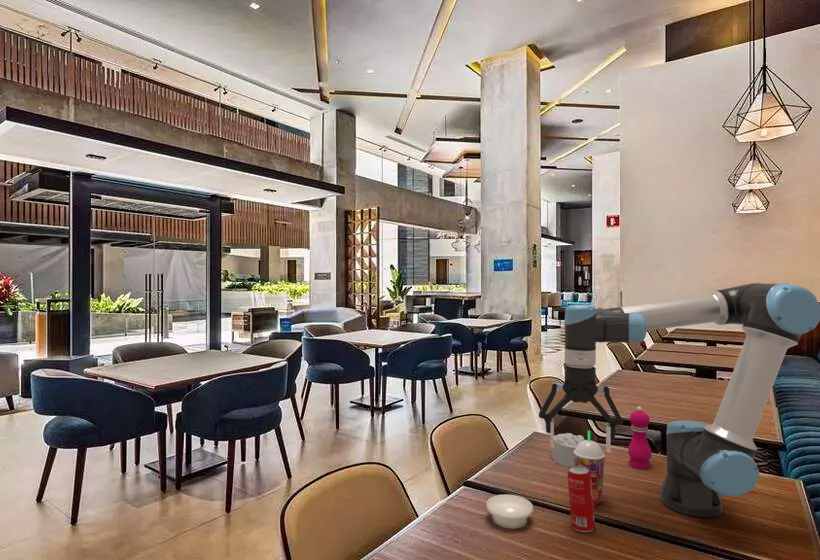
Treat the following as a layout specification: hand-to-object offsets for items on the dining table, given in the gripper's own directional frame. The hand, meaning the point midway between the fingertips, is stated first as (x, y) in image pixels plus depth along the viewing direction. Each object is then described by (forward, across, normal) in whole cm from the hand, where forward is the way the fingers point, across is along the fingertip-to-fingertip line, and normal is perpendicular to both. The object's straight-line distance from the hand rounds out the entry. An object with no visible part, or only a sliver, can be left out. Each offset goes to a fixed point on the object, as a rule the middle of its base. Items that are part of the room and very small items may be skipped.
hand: (579, 448), depth 123 cm
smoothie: (+20, +3, +16) cm, 26 cm away
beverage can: (+21, 0, 0) cm, 21 cm away
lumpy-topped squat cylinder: (+21, -1, +45) cm, 50 cm away
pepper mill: (+20, +21, +47) cm, 56 cm away
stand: (+21, -18, -1) cm, 27 cm away
